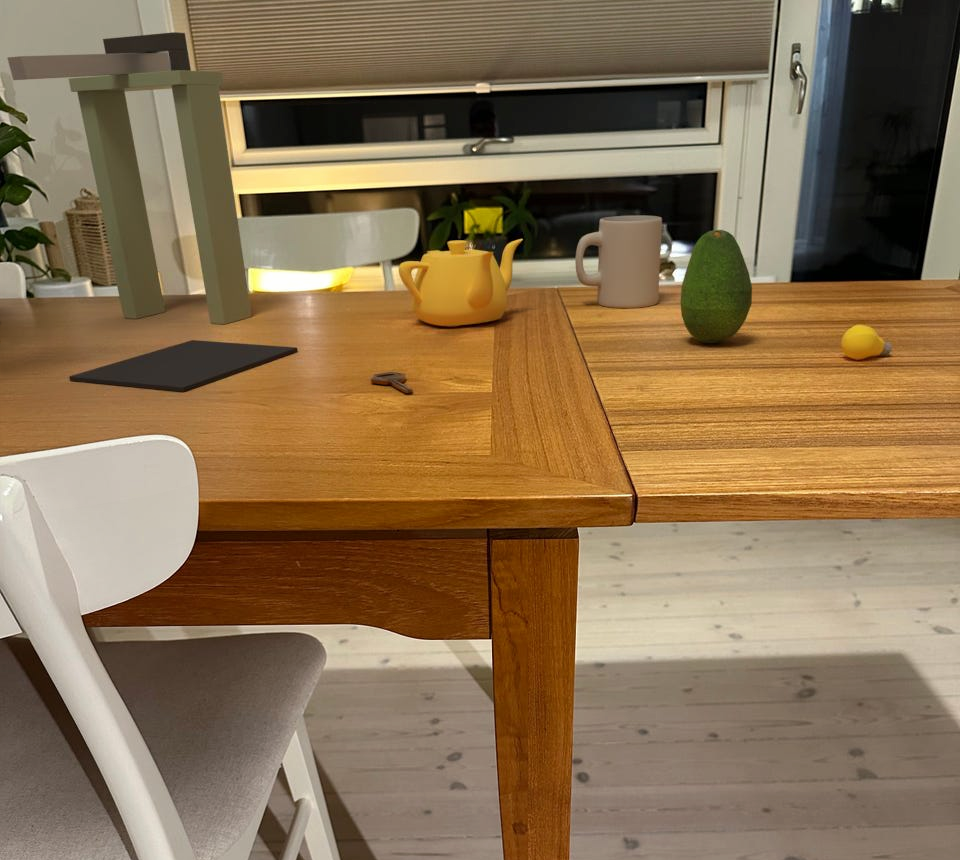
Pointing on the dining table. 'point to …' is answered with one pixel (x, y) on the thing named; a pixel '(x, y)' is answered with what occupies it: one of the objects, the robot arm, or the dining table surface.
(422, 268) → the teapot
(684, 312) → the fruit
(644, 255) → the mug
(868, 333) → the light bulb
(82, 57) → the bar
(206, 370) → the mat
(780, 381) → the dining table surface
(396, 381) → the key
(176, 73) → the stand
